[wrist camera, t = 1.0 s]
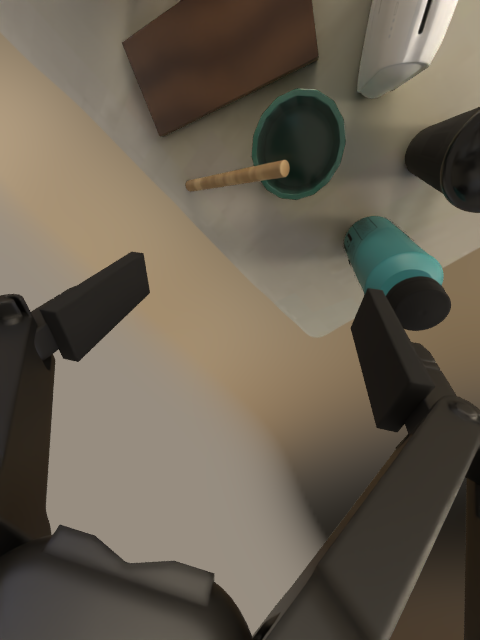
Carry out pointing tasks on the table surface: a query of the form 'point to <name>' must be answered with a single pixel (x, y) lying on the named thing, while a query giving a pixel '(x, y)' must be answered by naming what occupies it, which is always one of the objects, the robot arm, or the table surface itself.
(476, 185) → the drinking cup
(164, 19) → the board
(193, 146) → the table surface
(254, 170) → the stirrer
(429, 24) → the photo printer
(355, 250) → the beverage bottle
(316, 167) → the coffee cup
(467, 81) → the table surface
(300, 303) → the table surface
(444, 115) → the table surface
